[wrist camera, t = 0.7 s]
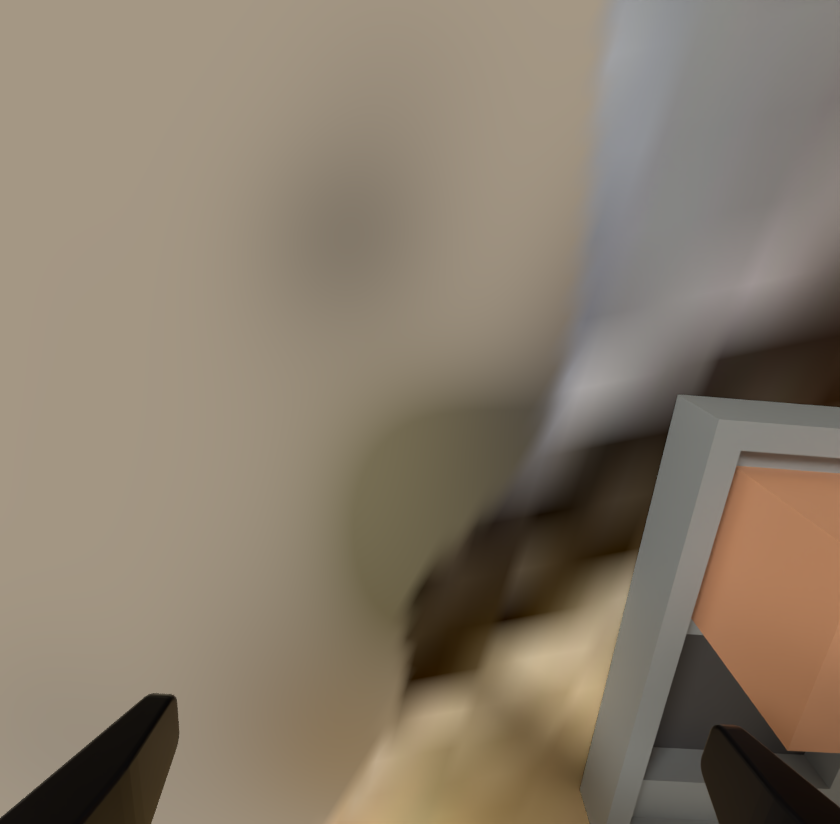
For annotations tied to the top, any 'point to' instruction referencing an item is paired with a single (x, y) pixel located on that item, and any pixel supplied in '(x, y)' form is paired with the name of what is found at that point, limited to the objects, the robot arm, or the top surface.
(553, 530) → the top surface
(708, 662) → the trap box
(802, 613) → the block
